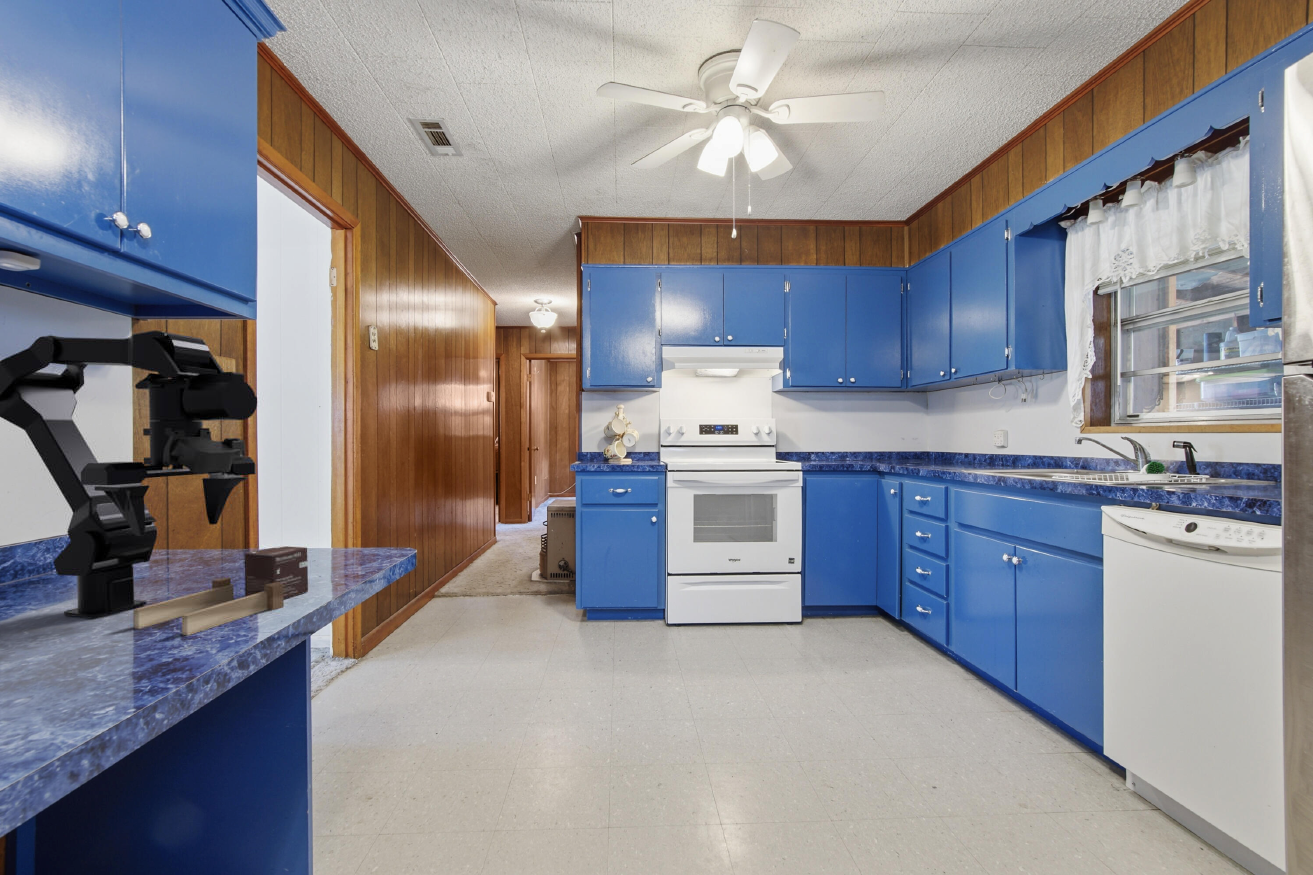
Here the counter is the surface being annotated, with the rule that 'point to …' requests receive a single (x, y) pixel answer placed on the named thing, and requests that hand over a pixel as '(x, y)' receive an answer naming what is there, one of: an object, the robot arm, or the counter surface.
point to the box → (277, 570)
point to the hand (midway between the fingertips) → (178, 529)
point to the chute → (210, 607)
